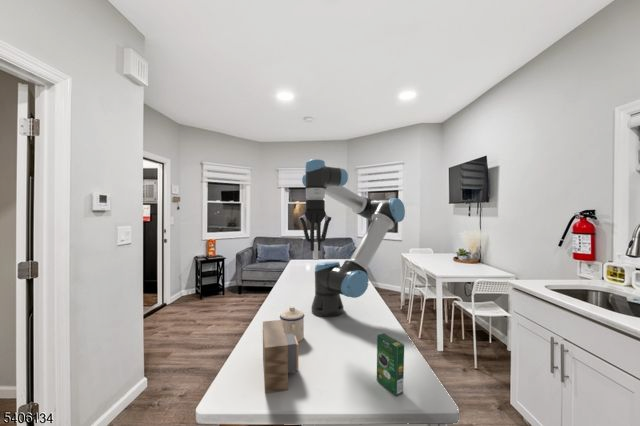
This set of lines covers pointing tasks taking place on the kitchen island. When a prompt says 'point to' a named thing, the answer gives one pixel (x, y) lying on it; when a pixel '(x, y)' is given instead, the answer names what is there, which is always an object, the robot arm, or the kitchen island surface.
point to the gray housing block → (292, 352)
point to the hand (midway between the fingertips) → (315, 259)
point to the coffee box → (390, 363)
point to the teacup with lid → (293, 322)
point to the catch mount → (275, 356)
